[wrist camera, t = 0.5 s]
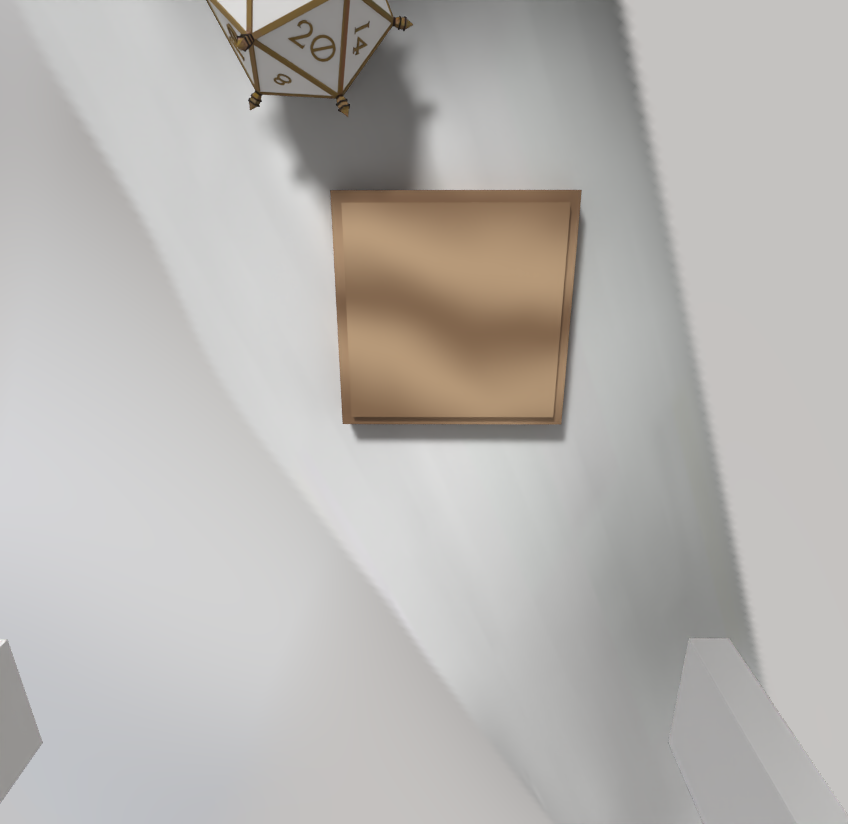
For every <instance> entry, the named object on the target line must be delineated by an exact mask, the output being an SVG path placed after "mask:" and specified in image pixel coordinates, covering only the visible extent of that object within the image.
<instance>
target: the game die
mask: <svg viewBox="0 0 848 824" xmlns="http://www.w3.org/2000/svg"><path fill="white" fill-rule="evenodd" d="M206 1H207V3H208V5H209V6H210V8H211V10H212V12H213V14H214V16H215V17H216V19H217V21H218V23H219V25H220V27H221V28H222V30H223V32H224V34H225V36H226V37H227V39H228V41H229V43H230V45H231V47H232V48H233V50H234V52H235V54H236V56H237V58H238V59H239V61H240V63H241V65H242V67H243V69H244V70H245V72H246V74H247V76H248V78H249V80H250V81H251V83H252V85H253V87H254V89H255V92H254V93H253V94H251V98H249V100H248V101H249V105H250V110H252V109H254V108H256V107H260V105H259V104H260V102H262V101H261V96H262V95H279V96H297V97H314V98H332V99H336V100H337V104H336V106H338V108H339V109H338V111H340V112H342V113H343V114H345V115H346V116H347V117H348V112H349V108H350V104H348V103H347V99H345V98H344V97H343V95H344V94H345V92H346V91H347V90H348V88H349V87H350V85H351V84H352V83H353V81H354V80H355V78H356V77H357V75H358V74H359V73H360V71H361V70H362V68H363V67H364V66H365V64H366V63H367V61H368V60H369V59H370V57H371V56H372V54H373V53H374V52H375V50H376V49H377V47H378V46H379V45H380V43H381V42H382V40H383V39H384V37H385V36H386V35H387V33H388V32H389V30H390V29H391V28H392V26H395V27H397V28H398V30H399V29H403V31H405V29H407V28H409V27H411V26H412V25H413V24H412V23H411V22H410V21H409V20H407V19H406V17H405V16H404V17H401V16H399V17H396V18H395V17H393V14H392V12H391V9H390V6H389V4H388V1H387V0H206Z"/></svg>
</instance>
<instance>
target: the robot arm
mask: <svg viewBox="0 0 848 824" xmlns="http://www.w3.org/2000/svg"><path fill="white" fill-rule="evenodd" d="M42 743H43V742H42V739H41V736H40V734H39V730H38V728H37V725H36V722H35V719H34V716H33V713H32V710H31V707H30V704H29V701H28V698H27V695H26V692H25V689H24V687H23V684H22V681H21V678H20V675H19V672H18V669H17V666H16V663H15V660H14V657H13V654H12V652H11V649H10V646H9V643H8V640H7V639H6V640H5V639H3V640H1V639H0V803H1V802H2V800H3V799H4V797H5V796H6V794H7V793H8V792H9V790H10V789H11V787H12V786H13V785H14V783H15V782H16V780H17V779H18V777H19V776H20V775H21V773H22V772H23V770H24V769H25V767H26V766H27V764H28V763H29V762H30V760H31V759H32V757H33V756H34V755H35V753H36V752H37V750H38V749H39V747H40V746H41V744H42ZM668 744H669V746H670V748H671V751H672V753H673V755H674V758H675V760H676V762H677V765H678V767H679V769H680V771H681V774H682V776H683V778H684V781H685V783H686V785H687V788H688V790H689V792H690V795H691V797H692V799H693V801H694V804H695V806H696V808H697V811H698V813H699V815H700V818H701V820H702V822H703V824H848V814H847V813H846V811H845V810H844V808H843V807H842V805H841V804H840V802H839V801H838V799H837V798H836V796H835V795H834V793H833V792H832V791H831V789H830V787H829V786H828V784H827V783H826V781H825V780H824V778H823V777H822V776H821V774H820V773H819V771H818V770H817V768H816V767H815V765H814V764H813V762H812V761H811V759H810V758H809V756H808V755H807V753H806V752H805V750H804V749H803V747H802V746H801V744H800V743H799V741H798V740H797V738H796V737H795V735H794V734H793V732H792V731H791V729H790V728H789V726H788V725H787V723H786V722H785V721H784V719H783V718H782V716H781V715H780V713H779V712H778V710H777V709H776V707H775V706H774V704H773V703H772V701H771V700H770V698H769V697H768V695H767V694H766V692H765V691H764V689H763V688H762V686H761V685H760V683H759V682H758V680H757V679H756V677H755V676H754V674H753V673H752V671H751V670H750V668H749V667H748V665H747V664H746V663H745V661H744V660H743V658H742V657H741V655H740V654H739V652H738V651H737V649H736V648H735V646H734V645H733V643H732V642H731V640H730V639H729V638H689V639H688V644H687V649H686V655H685V660H684V665H683V670H682V675H681V680H680V685H679V690H678V695H677V700H676V705H675V710H674V715H673V720H672V725H671V731H670V736H669V741H668Z"/></svg>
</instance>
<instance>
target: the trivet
mask: <svg viewBox="0 0 848 824" xmlns="http://www.w3.org/2000/svg"><path fill="white" fill-rule="evenodd" d="M581 191H582V190H330V193H331V212H332V231H333V249H334V268H335V287H336V306H337V324H338V343H339V362H340V381H341V399H342V418H343V424H561V420H562V409H563V397H564V386H565V374H566V363H567V351H568V340H569V328H570V317H571V305H572V294H573V282H574V271H575V260H576V248H577V237H578V225H579V214H580V202H581Z"/></svg>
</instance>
